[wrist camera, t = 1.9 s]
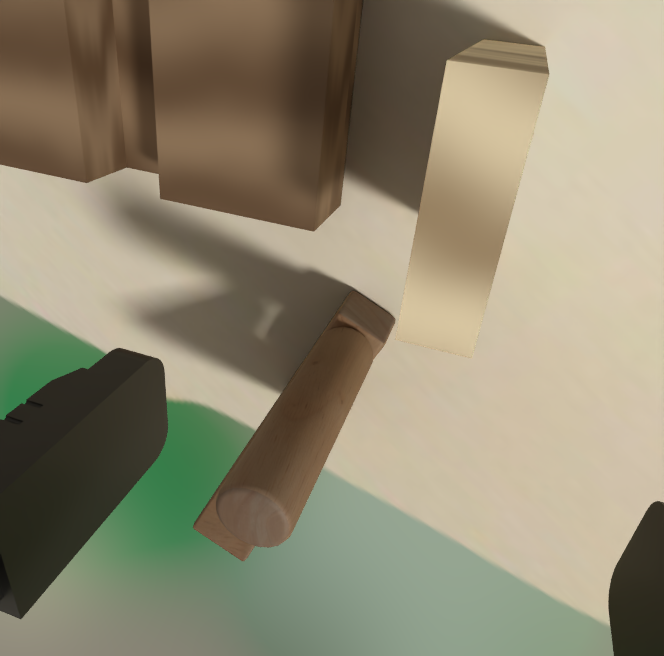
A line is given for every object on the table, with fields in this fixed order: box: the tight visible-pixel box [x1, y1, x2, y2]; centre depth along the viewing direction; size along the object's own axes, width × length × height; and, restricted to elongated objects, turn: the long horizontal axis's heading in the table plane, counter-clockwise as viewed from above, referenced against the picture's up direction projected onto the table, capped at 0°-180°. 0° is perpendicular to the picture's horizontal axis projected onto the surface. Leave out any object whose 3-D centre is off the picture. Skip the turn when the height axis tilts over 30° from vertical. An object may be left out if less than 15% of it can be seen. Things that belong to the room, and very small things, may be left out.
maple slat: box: [395, 39, 549, 358], centre depth 25 cm, size 10×3×14 cm, turn 174°
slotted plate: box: [0, 0, 363, 231], centre depth 32 cm, size 14×24×5 cm, turn 84°
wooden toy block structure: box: [193, 291, 395, 561], centre depth 33 cm, size 4×11×18 cm, turn 151°
